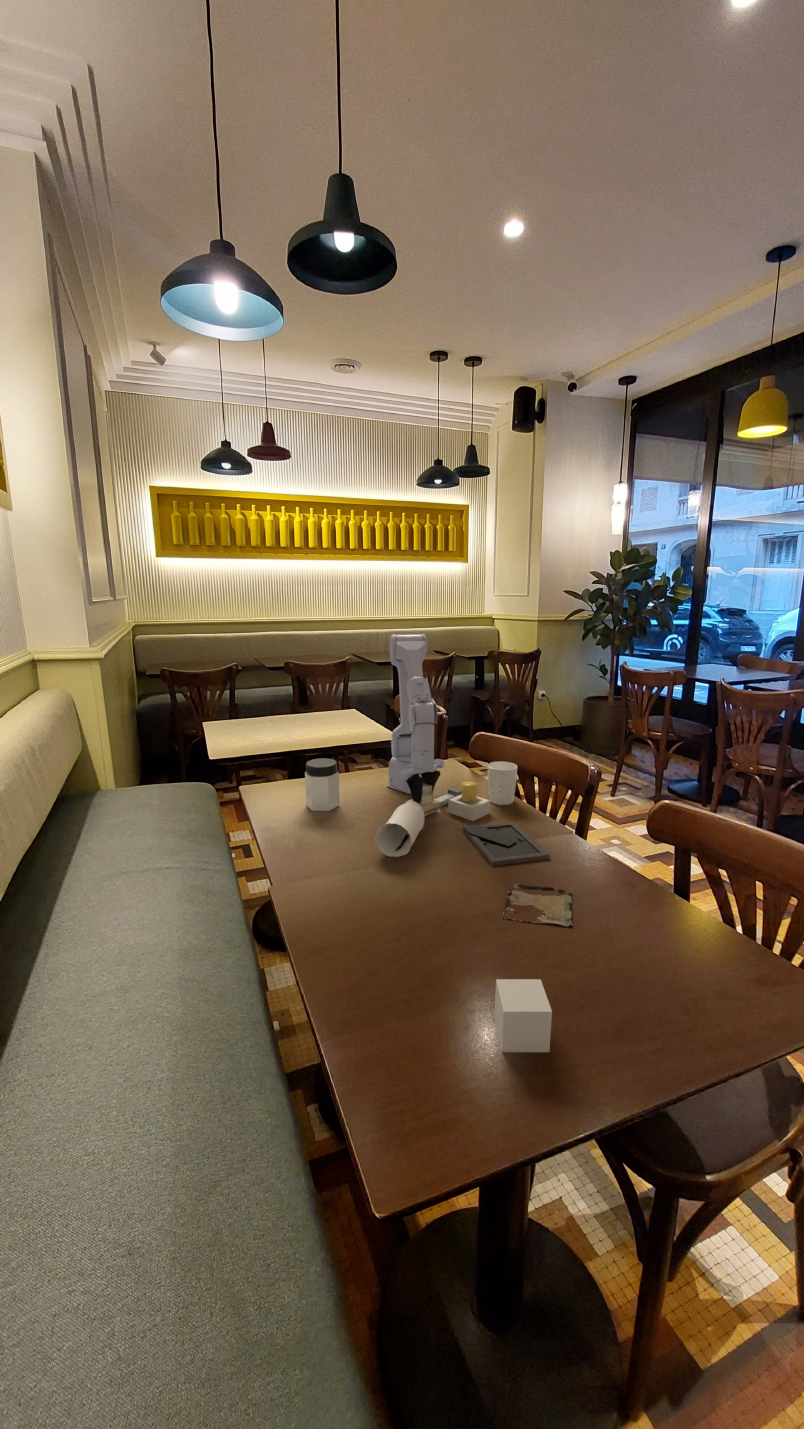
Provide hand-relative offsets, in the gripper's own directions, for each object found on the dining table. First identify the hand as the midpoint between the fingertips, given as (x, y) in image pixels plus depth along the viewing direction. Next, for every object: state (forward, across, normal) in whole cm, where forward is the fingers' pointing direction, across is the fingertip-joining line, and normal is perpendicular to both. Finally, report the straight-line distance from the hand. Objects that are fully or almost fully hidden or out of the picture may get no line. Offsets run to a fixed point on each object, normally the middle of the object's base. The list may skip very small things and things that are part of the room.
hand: (422, 799), depth 148 cm
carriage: (+3, 0, 0) cm, 3 cm away
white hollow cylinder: (+4, -16, -8) cm, 18 cm away
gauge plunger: (0, +8, -9) cm, 12 cm away
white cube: (+4, -47, -60) cm, 76 cm away
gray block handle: (+3, +4, 0) cm, 5 cm away
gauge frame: (+3, +8, -9) cm, 13 cm away
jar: (+4, -15, +22) cm, 27 cm away
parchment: (+4, -18, -45) cm, 49 cm away
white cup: (+4, +21, -10) cm, 23 cm away
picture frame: (+4, -1, -26) cm, 26 cm away
